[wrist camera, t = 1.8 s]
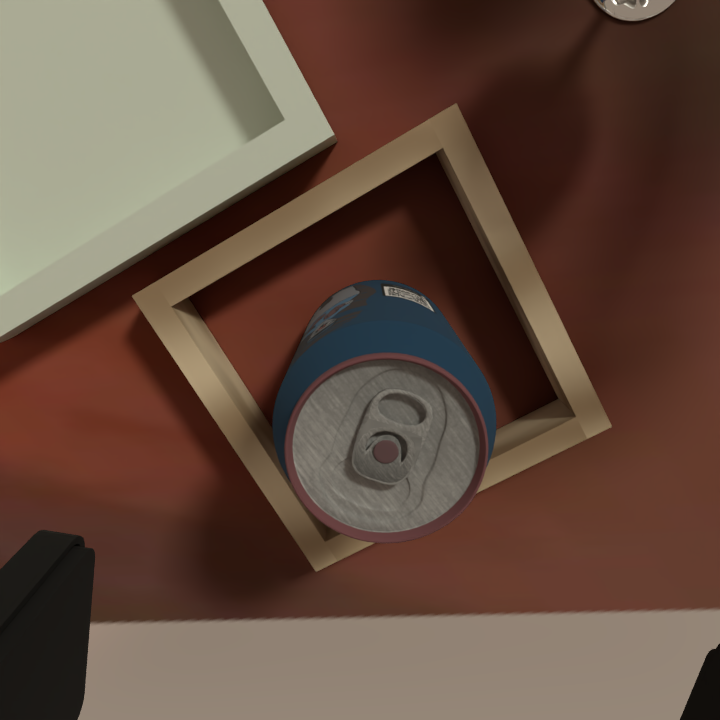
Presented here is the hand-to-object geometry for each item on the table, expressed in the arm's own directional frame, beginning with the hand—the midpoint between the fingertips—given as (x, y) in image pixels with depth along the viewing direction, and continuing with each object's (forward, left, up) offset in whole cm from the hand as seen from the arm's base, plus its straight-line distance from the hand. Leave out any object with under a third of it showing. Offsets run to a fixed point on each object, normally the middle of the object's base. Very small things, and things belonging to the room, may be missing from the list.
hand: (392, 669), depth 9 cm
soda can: (0, 0, -20) cm, 20 cm away
